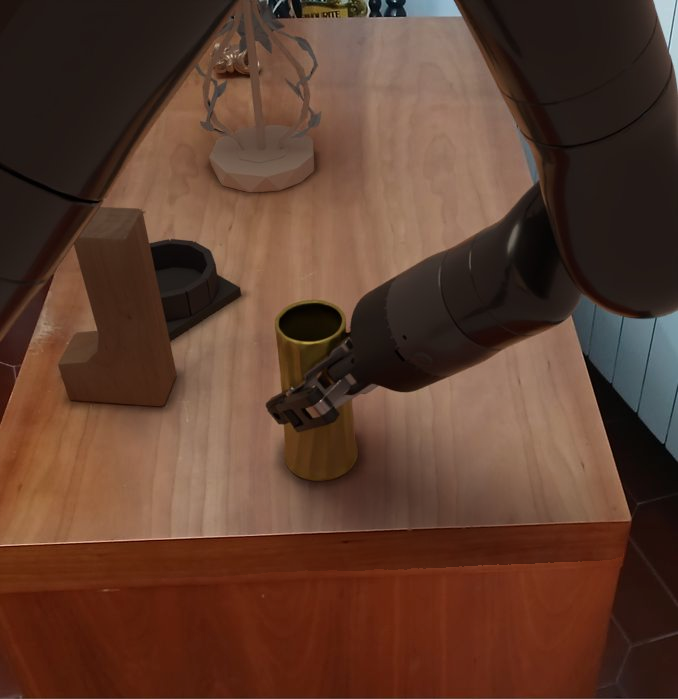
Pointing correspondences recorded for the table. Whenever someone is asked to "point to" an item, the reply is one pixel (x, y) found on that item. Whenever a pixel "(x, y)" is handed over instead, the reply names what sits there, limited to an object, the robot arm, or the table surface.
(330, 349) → the vase
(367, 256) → the table surface
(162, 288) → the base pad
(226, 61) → the ornament
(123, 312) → the wooden block
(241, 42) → the table lamp
